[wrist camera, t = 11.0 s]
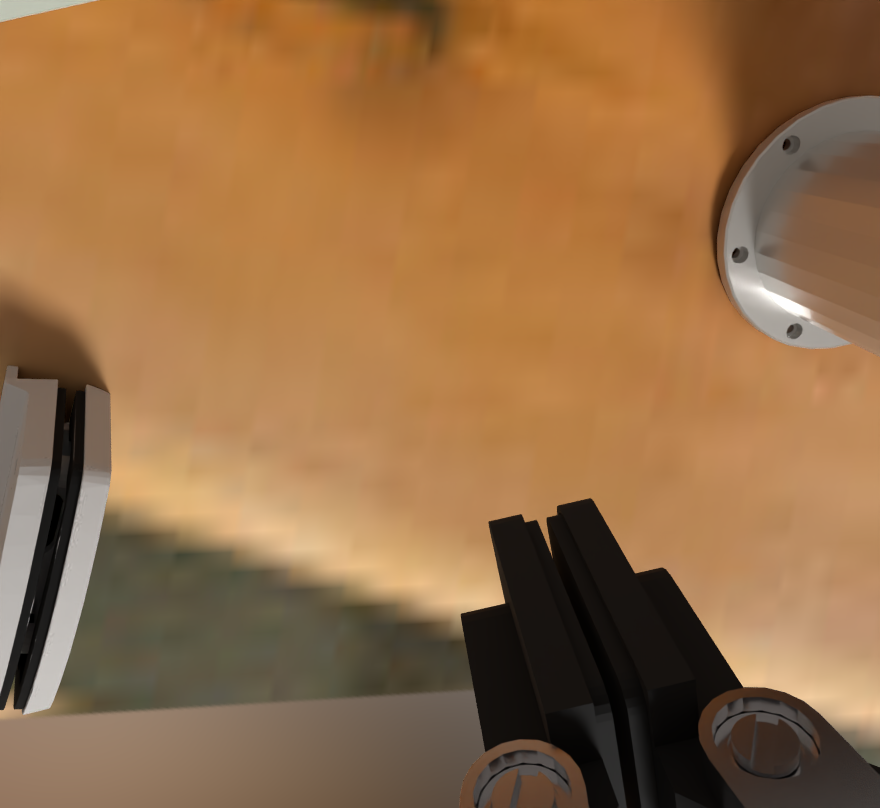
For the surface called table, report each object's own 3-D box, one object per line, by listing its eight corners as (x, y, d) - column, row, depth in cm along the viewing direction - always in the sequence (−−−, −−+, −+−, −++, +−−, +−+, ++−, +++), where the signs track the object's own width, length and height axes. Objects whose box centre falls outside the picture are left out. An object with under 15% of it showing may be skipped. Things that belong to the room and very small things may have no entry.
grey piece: (8, 358, 37) (-9, 462, 29) (110, 375, 39) (119, 475, 31) (-44, 617, 42) (-71, 765, 34) (48, 618, 44) (43, 757, 36)
